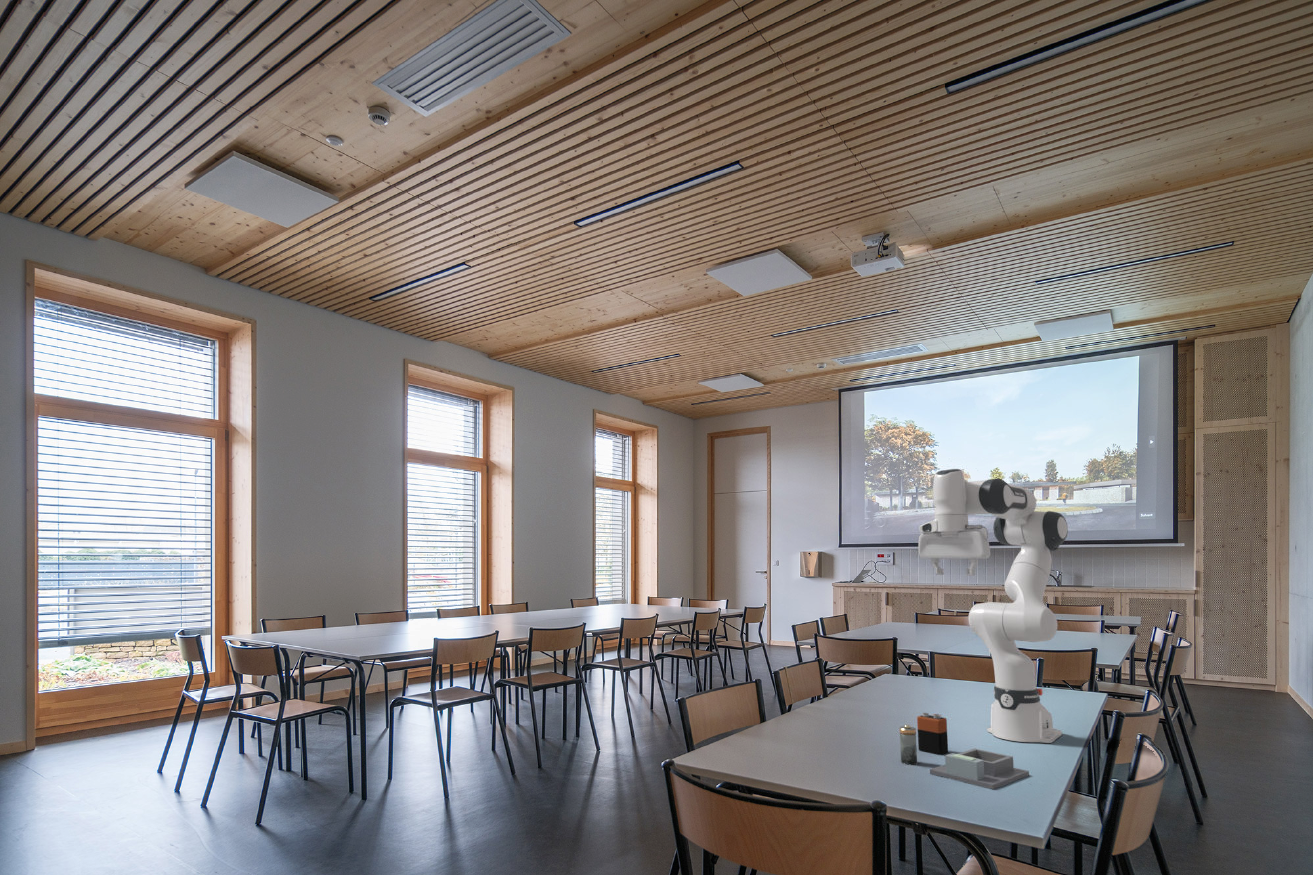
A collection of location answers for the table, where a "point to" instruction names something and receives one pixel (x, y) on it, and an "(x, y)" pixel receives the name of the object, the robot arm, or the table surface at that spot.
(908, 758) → the cell
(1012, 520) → the robot arm
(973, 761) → the tester
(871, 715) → the table surface
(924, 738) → the battery
